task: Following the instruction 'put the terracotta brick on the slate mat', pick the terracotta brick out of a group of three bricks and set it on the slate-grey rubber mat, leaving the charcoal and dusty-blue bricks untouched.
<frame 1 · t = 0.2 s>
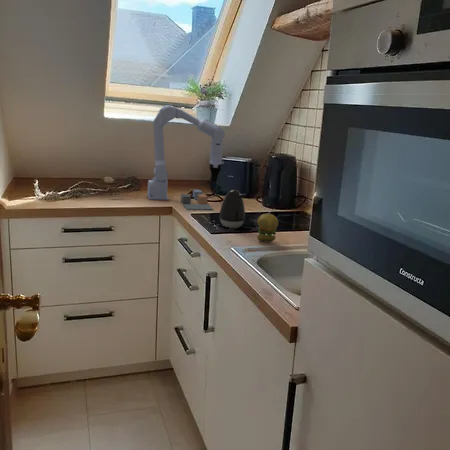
hand: (214, 180, 238), 10 cm above the worktop, fingers open, 7 cm apart
terracotta brick: (202, 203, 231), on the worktop
slate mat: (197, 207, 222), on the worktop
dusty-blue brick: (197, 198, 241), on the worktop
charcoal brick: (185, 203, 229), on the worktop
hamburger: (265, 243, 176), on the worktop
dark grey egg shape: (231, 227, 194), on the worktop
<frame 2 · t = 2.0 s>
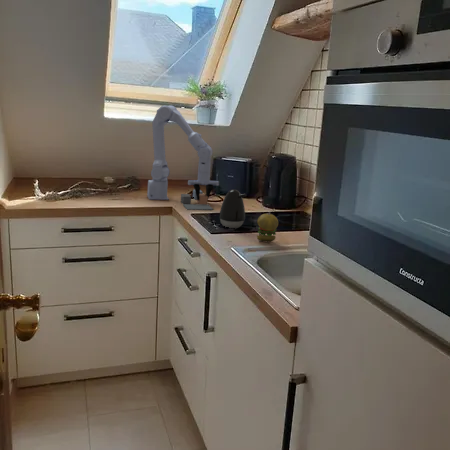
hand: (202, 200, 231), 2 cm above the worktop, fingers closed on terracotta brick, 4 cm apart
terracotta brick: (202, 203, 231), on the worktop, touching gripper
everything else where it was.
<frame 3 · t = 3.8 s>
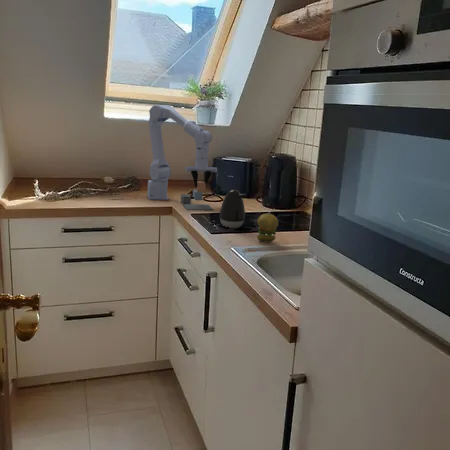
hand: (200, 187, 222), 9 cm above the worktop, fingers closed on terracotta brick, 4 cm apart
terracotta brick: (200, 190, 223), point 7 cm above the worktop, touching gripper
everything else where it was.
when the fingers open (4 cm above the worktop, at t = 5.3 s): terracotta brick drops 2 cm, resting on slate mat.
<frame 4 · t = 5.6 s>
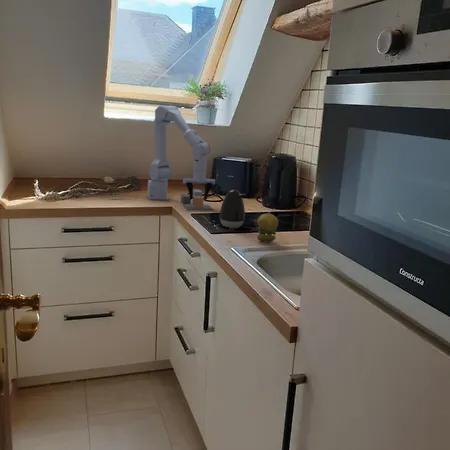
hand: (198, 199, 221), 4 cm above the worktop, fingers open, 6 cm apart
terracotta brick: (197, 206, 222), point 1 cm above the worktop, touching slate mat
everything else where it was.
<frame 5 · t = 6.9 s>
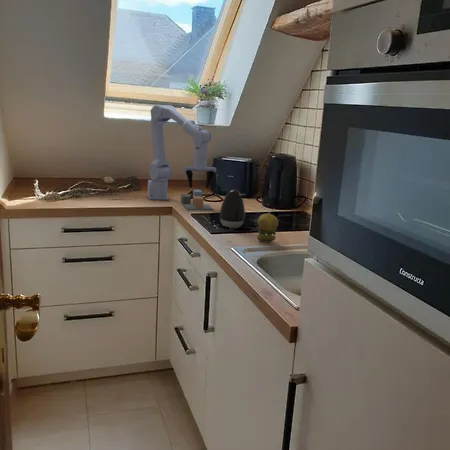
hand: (198, 187, 220), 9 cm above the worktop, fingers open, 7 cm apart
nothing on the worktop moved.
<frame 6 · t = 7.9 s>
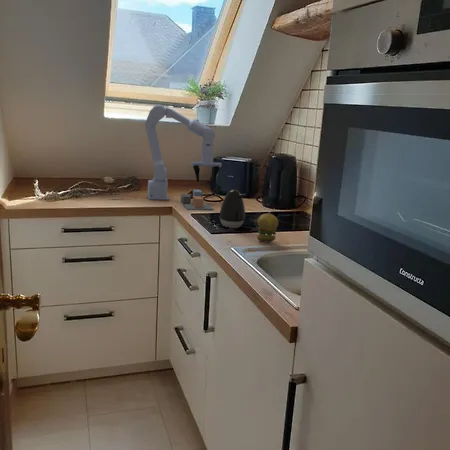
hand: (205, 181, 235), 9 cm above the worktop, fingers open, 7 cm apart
nothing on the worktop moved.
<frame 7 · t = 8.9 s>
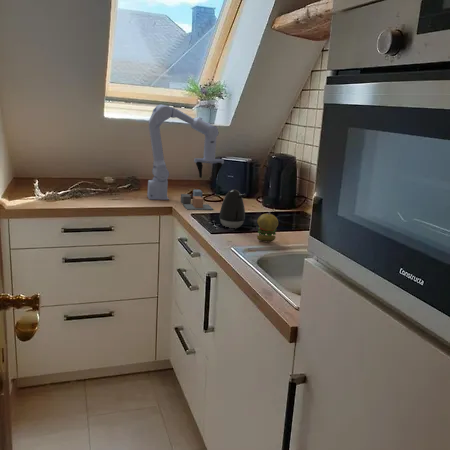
hand: (208, 177, 241), 10 cm above the worktop, fingers open, 7 cm apart
nothing on the worktop moved.
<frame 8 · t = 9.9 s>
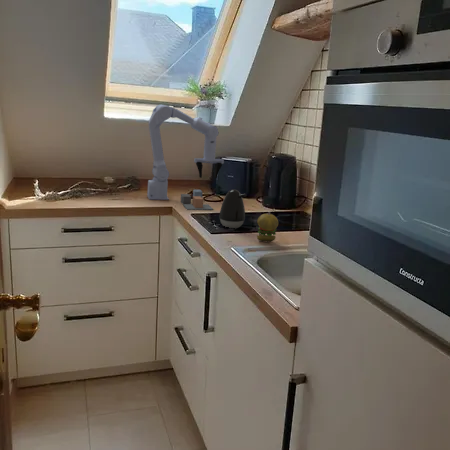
hand: (208, 177, 241), 10 cm above the worktop, fingers open, 7 cm apart
nothing on the worktop moved.
at the end: terracotta brick 0.6 cm off-centre on the slate mat, point 0.6 cm above the slate mat's base; charcoal brick moved 0.2 cm from its start; dusty-blue brick moved 0.2 cm from its start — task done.
